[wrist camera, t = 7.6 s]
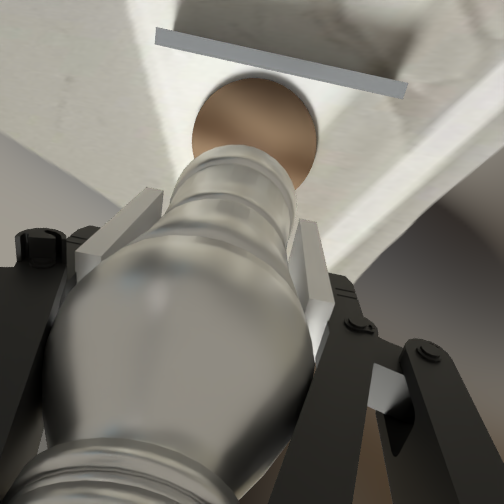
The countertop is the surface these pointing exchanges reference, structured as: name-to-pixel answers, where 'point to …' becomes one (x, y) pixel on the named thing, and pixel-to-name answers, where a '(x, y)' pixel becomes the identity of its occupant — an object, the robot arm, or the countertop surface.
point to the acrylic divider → (280, 63)
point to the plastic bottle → (179, 350)
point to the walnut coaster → (259, 124)
